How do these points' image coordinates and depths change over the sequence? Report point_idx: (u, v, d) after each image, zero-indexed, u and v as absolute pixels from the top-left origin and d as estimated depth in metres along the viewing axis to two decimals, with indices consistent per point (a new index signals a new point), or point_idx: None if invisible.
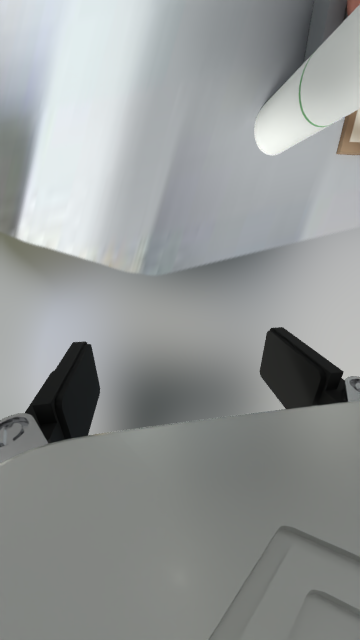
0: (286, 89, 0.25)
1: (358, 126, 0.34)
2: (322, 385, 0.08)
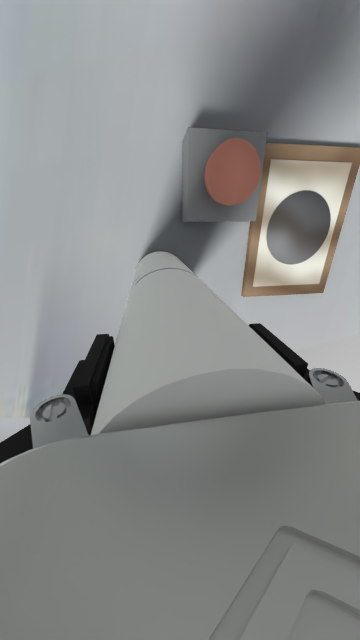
0: None
1: (260, 272, 0.29)
2: None
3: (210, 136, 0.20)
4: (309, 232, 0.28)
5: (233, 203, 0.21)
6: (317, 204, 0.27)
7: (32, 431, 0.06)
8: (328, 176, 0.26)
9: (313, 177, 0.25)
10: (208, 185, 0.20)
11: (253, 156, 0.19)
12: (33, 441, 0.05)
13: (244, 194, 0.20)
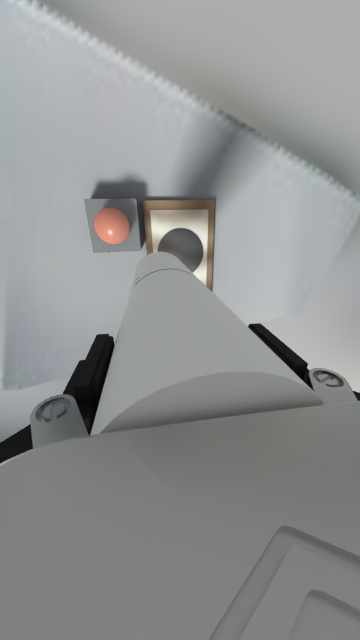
0: None
1: None
2: None
3: (99, 203, 0.33)
4: (189, 254, 0.41)
5: (115, 243, 0.33)
6: (190, 236, 0.39)
7: (32, 431, 0.06)
8: (194, 218, 0.38)
9: (183, 219, 0.38)
10: (97, 233, 0.33)
11: (121, 216, 0.32)
12: (33, 441, 0.05)
13: (121, 238, 0.33)
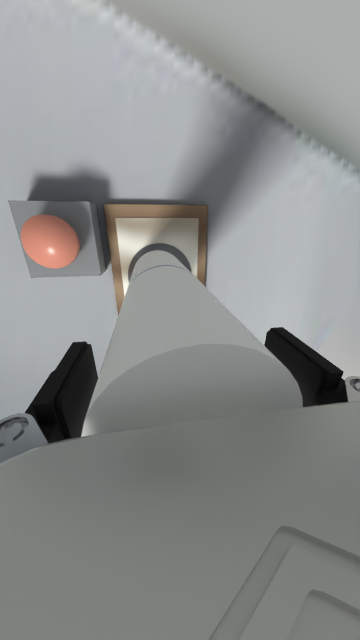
0: None
1: None
2: (322, 385, 0.08)
3: (32, 207, 0.22)
4: None
5: (57, 267, 0.22)
6: (173, 254, 0.28)
7: None
8: (178, 230, 0.27)
9: (163, 231, 0.27)
10: None
11: (63, 228, 0.21)
12: None
13: (65, 259, 0.22)
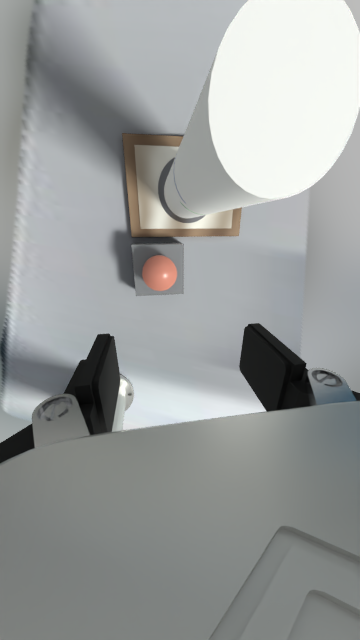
0: (191, 215, 0.26)
1: (220, 222, 0.34)
2: (287, 376, 0.08)
3: (138, 282, 0.34)
4: None
5: (176, 272, 0.31)
6: (167, 175, 0.30)
7: (34, 430, 0.06)
8: (146, 168, 0.30)
9: (148, 184, 0.31)
10: (166, 288, 0.32)
11: (150, 262, 0.30)
12: (35, 440, 0.05)
13: (171, 265, 0.31)
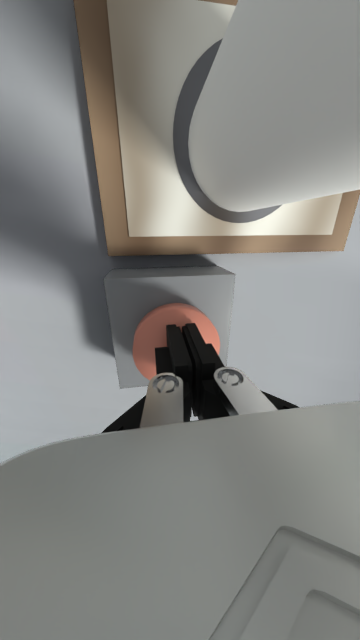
0: (318, 187, 0.07)
1: (310, 221, 0.15)
2: (199, 375, 0.08)
3: (124, 362, 0.14)
4: None
5: (218, 345, 0.13)
6: (199, 94, 0.11)
7: (147, 394, 0.07)
8: (142, 71, 0.11)
9: (147, 121, 0.12)
10: None
11: (152, 326, 0.11)
12: (145, 403, 0.06)
13: (206, 331, 0.12)
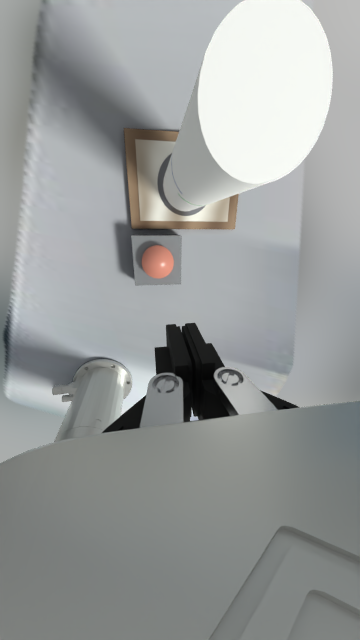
0: (188, 206, 0.27)
1: (216, 216, 0.36)
2: (199, 375, 0.08)
3: (137, 272, 0.35)
4: None
5: (173, 261, 0.34)
6: (166, 169, 0.32)
7: (147, 394, 0.07)
8: (146, 162, 0.31)
9: (148, 178, 0.32)
10: (164, 276, 0.35)
11: (148, 251, 0.33)
12: (145, 402, 0.06)
13: (168, 254, 0.33)
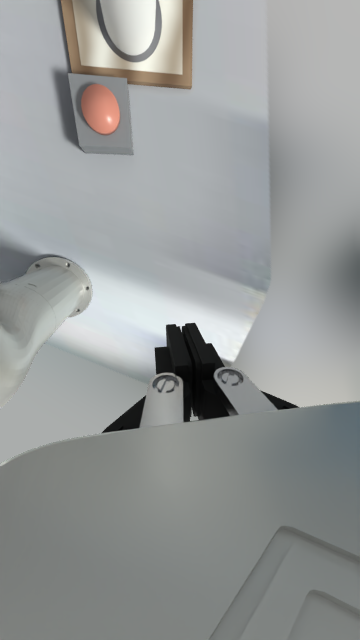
0: (120, 0, 0.23)
1: (169, 65, 0.32)
2: (199, 375, 0.08)
3: (80, 127, 0.31)
4: None
5: (118, 108, 0.30)
6: None
7: (147, 394, 0.07)
8: None
9: (85, 4, 0.28)
10: (110, 131, 0.31)
11: (88, 92, 0.29)
12: (145, 403, 0.06)
13: (111, 98, 0.30)
